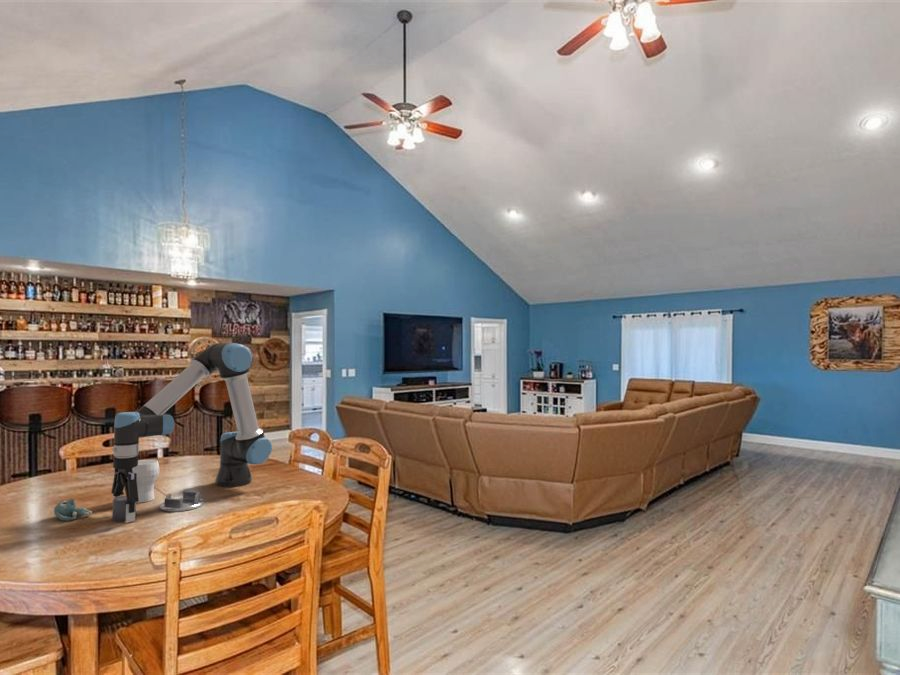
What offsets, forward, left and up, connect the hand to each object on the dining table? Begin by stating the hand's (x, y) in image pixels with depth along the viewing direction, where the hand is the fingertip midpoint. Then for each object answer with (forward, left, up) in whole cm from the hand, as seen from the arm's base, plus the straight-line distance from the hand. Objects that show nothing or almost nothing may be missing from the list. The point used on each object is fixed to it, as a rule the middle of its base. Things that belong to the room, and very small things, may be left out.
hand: (123, 517), depth 181 cm
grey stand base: (0, +20, 0) cm, 20 cm away
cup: (-19, +13, 0) cm, 23 cm away
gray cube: (0, 0, 0) cm, 0 cm away
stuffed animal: (-15, -11, -1) cm, 19 cm away
